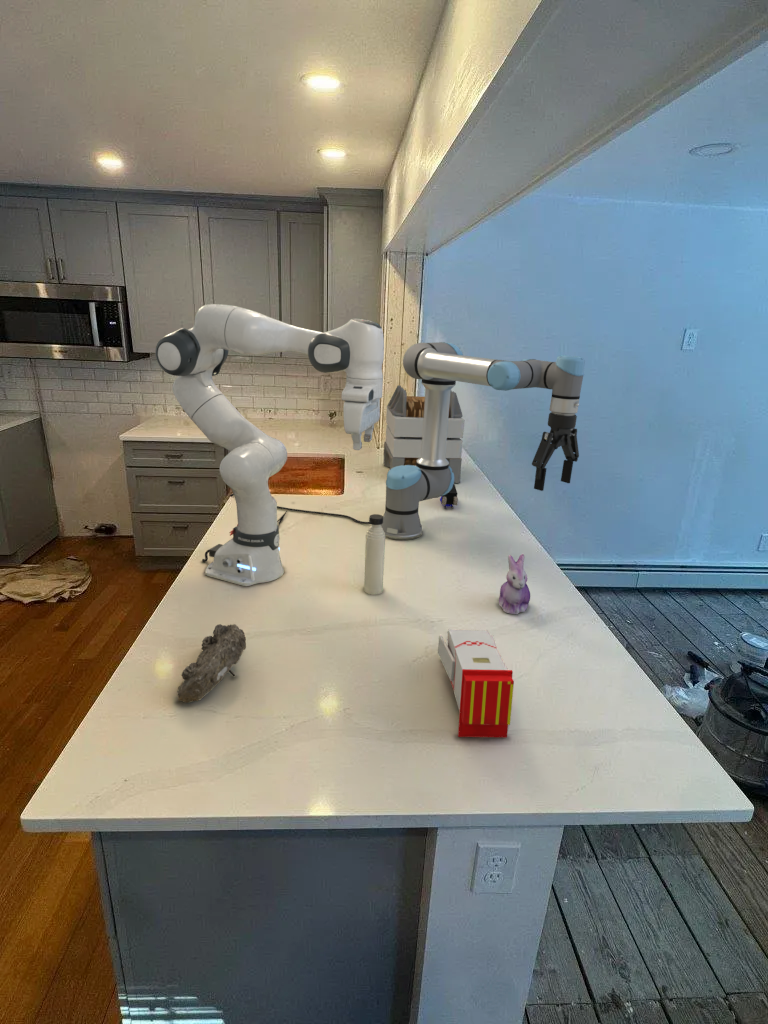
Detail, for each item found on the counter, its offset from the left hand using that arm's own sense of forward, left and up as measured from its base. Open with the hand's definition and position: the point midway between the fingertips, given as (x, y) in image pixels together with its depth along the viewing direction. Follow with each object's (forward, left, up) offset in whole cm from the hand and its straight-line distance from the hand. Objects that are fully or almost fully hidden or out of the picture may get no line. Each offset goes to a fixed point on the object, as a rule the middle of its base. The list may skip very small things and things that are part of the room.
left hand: (362, 445), depth 142 cm
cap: (+3, +4, -20) cm, 21 cm away
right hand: (+49, +32, -14) cm, 60 cm away
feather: (-44, +52, -42) cm, 80 cm away
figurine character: (+13, +85, -42) cm, 96 cm away
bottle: (+3, +4, -42) cm, 43 cm away
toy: (+34, -33, -42) cm, 64 cm away
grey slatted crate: (-6, +128, -42) cm, 135 cm away
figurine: (+42, +7, -42) cm, 60 cm away
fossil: (-19, -43, -42) cm, 63 cm away
